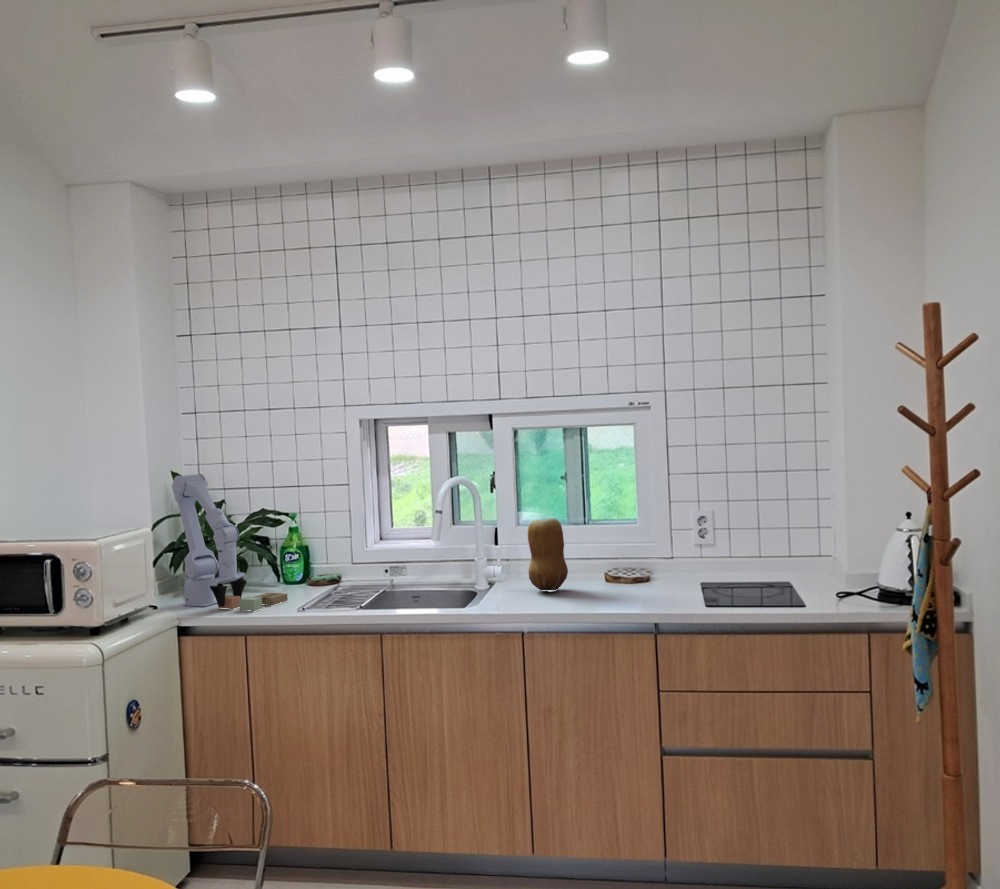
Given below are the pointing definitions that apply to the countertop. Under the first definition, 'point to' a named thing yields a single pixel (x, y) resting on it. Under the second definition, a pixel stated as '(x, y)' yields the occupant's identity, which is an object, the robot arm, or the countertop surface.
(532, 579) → the butternut squash
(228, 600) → the terracotta brick
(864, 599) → the countertop surface
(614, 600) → the countertop surface
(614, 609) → the countertop surface
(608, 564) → the countertop surface
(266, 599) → the walnut slab
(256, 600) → the sage brick
